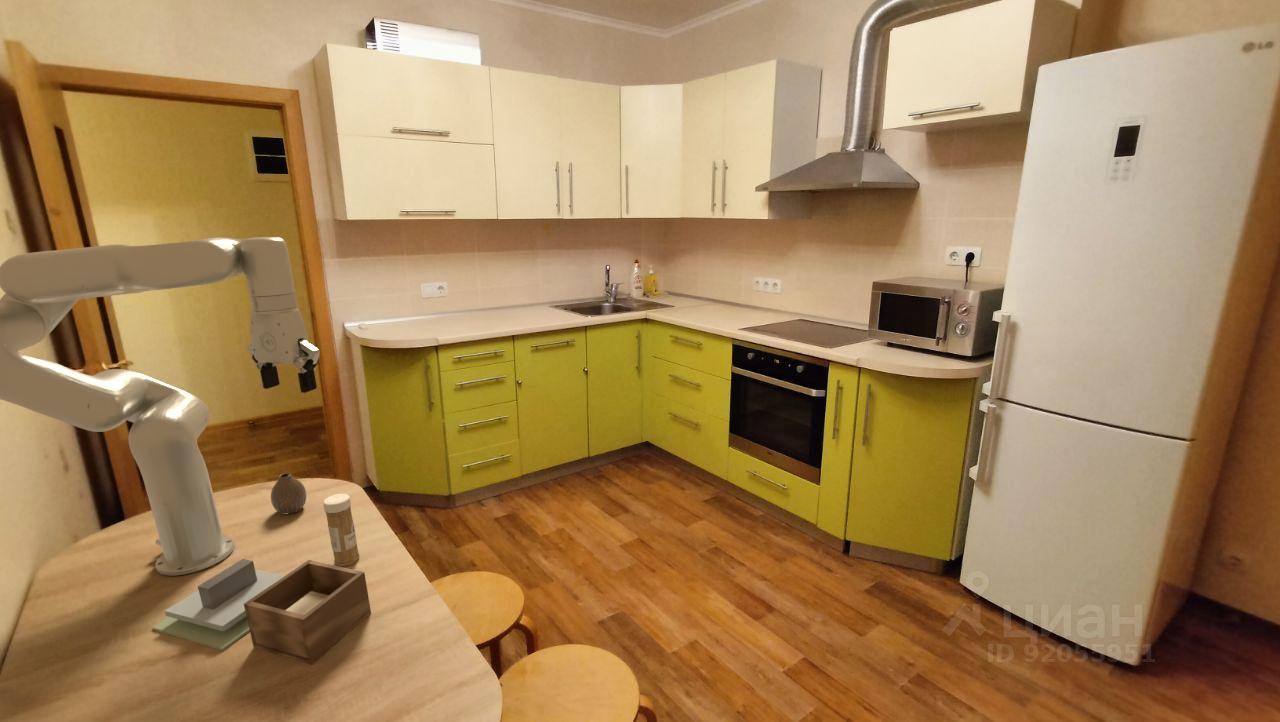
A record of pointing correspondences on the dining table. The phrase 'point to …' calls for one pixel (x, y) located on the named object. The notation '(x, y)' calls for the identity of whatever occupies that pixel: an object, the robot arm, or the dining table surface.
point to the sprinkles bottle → (341, 529)
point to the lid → (223, 596)
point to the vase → (288, 494)
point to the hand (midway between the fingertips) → (290, 388)
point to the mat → (203, 632)
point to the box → (308, 611)
